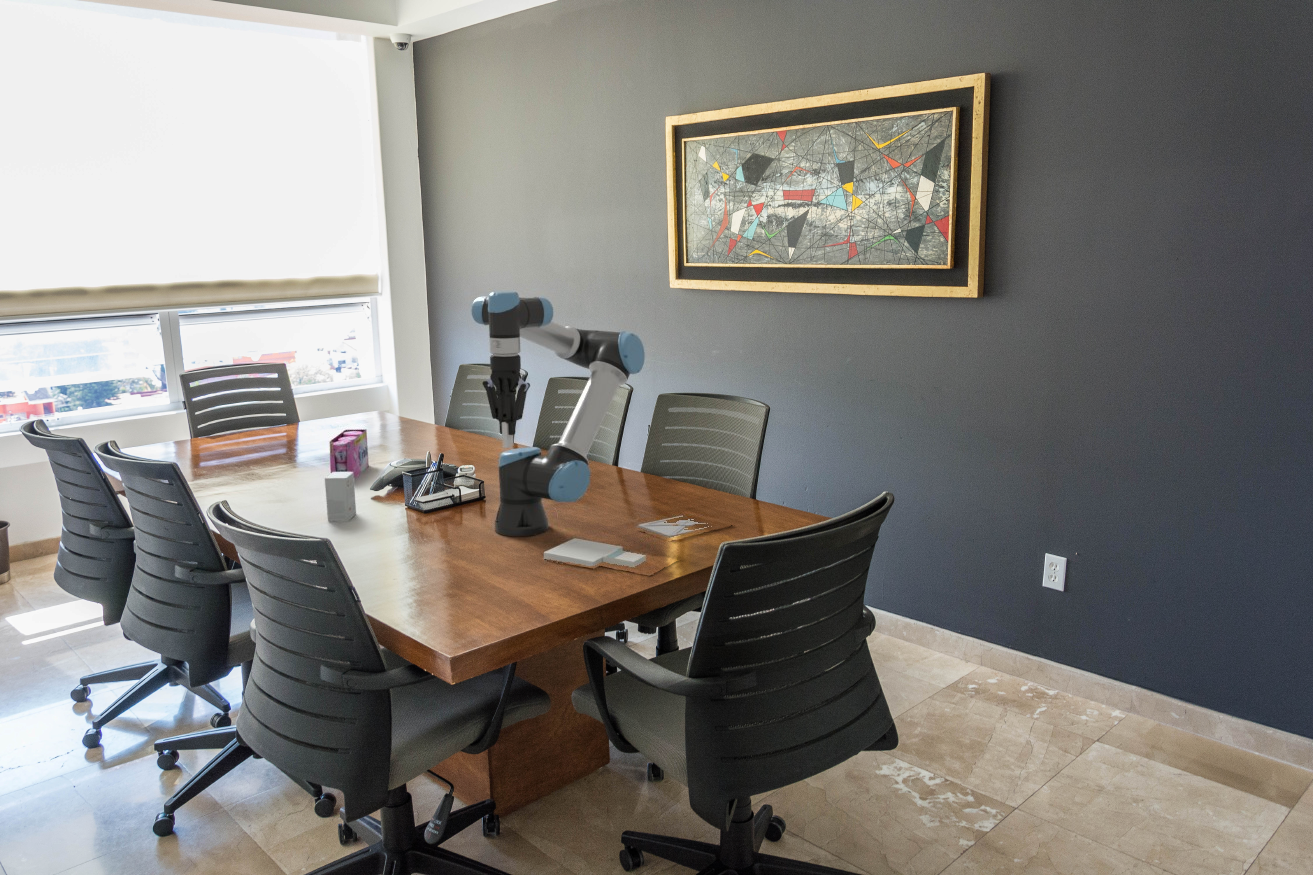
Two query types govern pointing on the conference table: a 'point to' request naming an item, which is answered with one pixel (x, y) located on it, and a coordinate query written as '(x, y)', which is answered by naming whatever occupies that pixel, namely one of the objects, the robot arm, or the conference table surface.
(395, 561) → the conference table surface
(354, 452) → the gum box
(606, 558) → the card
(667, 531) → the envelope
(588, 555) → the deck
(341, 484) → the small box
